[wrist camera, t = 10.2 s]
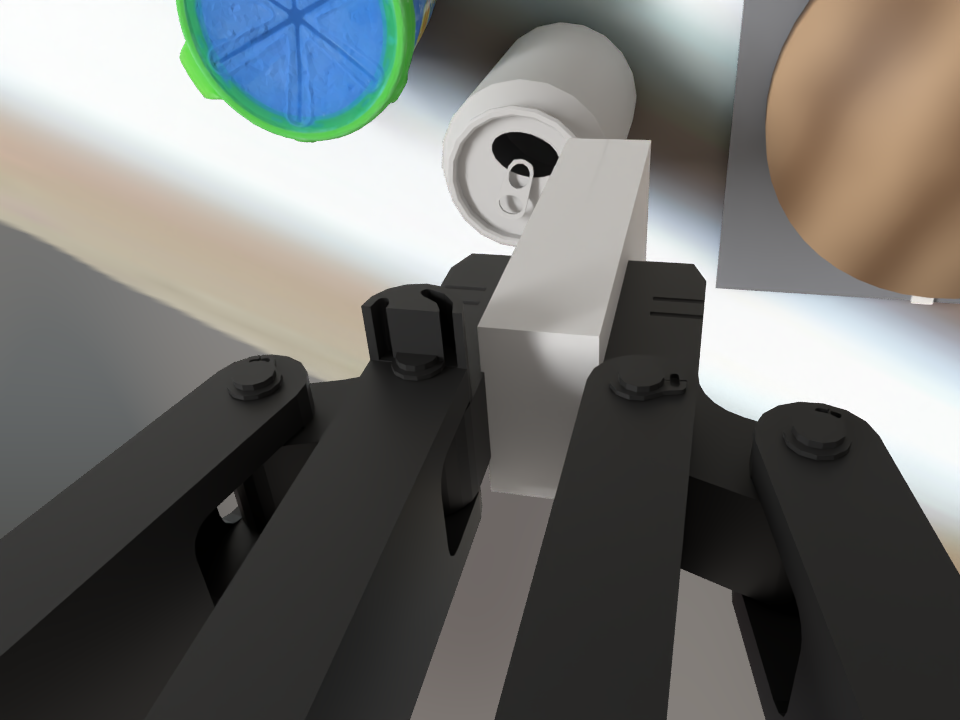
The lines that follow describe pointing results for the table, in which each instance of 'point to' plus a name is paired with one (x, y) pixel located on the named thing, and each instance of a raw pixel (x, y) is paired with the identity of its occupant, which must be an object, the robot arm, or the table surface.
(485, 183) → the can
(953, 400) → the table surface
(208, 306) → the table surface
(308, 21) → the snack cup
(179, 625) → the robot arm
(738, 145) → the dial base
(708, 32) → the table surface
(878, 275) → the dial
